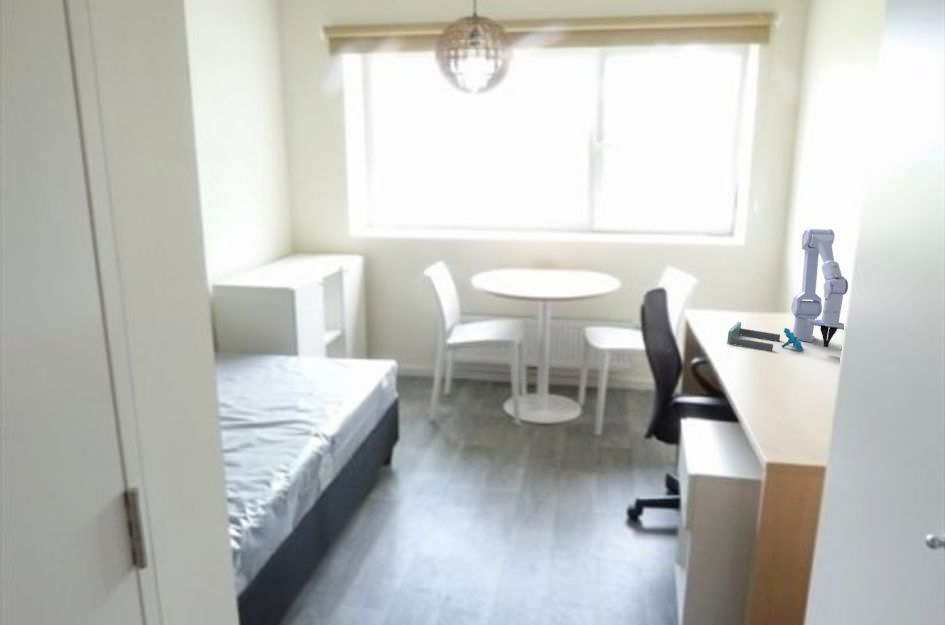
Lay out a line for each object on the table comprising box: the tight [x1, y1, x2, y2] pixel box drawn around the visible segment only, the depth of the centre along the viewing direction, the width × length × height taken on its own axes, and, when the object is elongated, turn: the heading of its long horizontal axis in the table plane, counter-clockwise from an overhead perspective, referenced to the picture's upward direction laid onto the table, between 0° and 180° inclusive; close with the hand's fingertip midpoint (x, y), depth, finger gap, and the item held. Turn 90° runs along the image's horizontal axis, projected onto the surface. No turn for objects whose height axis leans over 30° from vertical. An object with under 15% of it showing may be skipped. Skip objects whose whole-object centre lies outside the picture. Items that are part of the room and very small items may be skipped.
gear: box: [781, 327, 804, 352], centre depth 263 cm, size 11×6×10 cm
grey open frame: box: [726, 321, 781, 352], centre depth 269 cm, size 18×16×5 cm
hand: (825, 346), depth 257 cm, fingers closed
